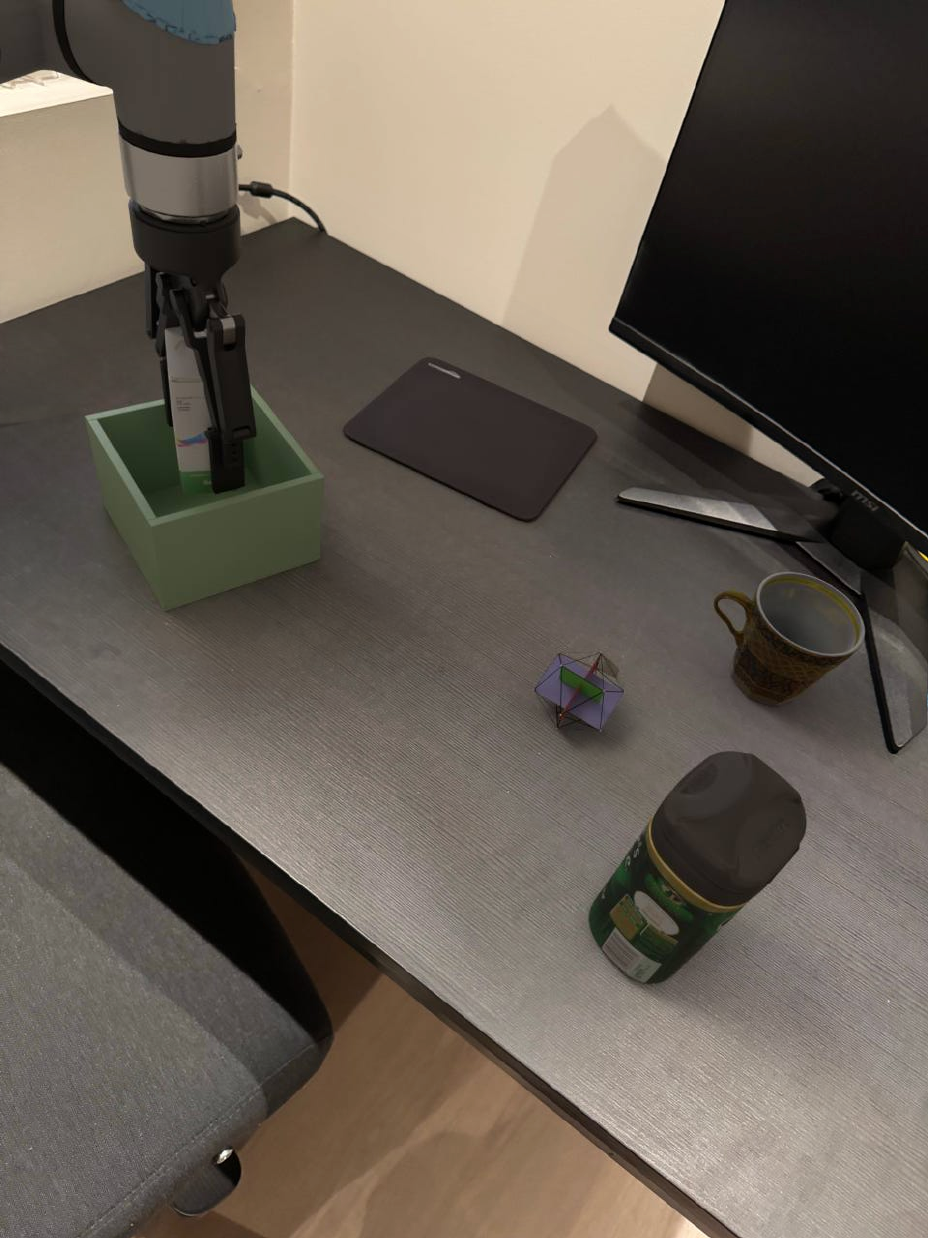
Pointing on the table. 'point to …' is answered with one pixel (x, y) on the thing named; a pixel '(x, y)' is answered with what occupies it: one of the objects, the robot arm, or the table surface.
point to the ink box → (188, 414)
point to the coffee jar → (697, 864)
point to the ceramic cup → (791, 635)
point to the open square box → (206, 505)
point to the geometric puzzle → (581, 689)
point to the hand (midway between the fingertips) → (204, 453)
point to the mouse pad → (473, 436)
